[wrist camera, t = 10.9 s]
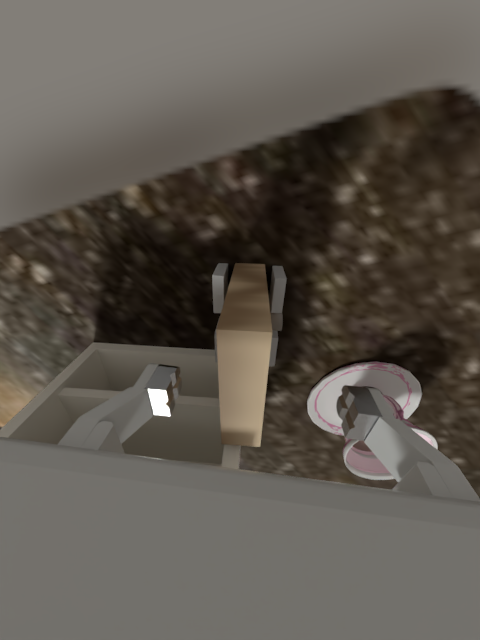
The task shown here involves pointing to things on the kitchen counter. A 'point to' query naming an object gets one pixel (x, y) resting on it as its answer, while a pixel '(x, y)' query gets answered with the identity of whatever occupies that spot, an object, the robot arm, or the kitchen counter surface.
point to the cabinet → (123, 372)
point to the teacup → (398, 394)
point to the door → (244, 354)
